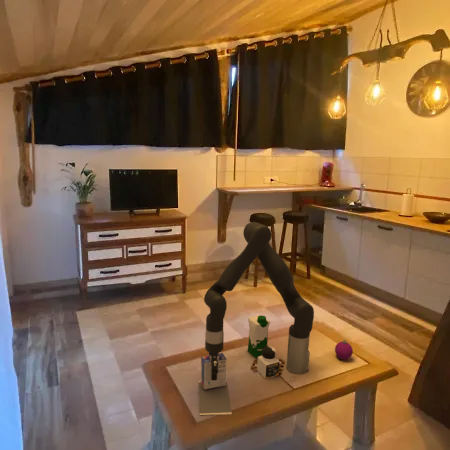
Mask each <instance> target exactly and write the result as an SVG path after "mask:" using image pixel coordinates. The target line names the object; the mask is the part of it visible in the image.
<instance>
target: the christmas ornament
mask: <svg viewBox="0 0 450 450" xmlns="http://www.w3.org/2000/svg"><path fill="white" fill-rule="evenodd" d="M334 352H335V355H336V356H337V358H338V359H340V360H348V359H350V358H351V357H352V356H353V353H354V352H353V347H352V345H351V344H350V343H348V342H347V340H346V339H344V340H342V341H340V342H338V343H336V345H335V347H334Z"/></svg>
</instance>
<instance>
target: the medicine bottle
mask: <svg viewBox="0 0 450 450" xmlns="http://www.w3.org/2000/svg"><path fill="white" fill-rule="evenodd" d="M276 356H277V349H276V348H275V347H273V346H268V345H267V346H266V347H264V348H263V349H262V356H259V357H258V358H257V366H256V367H257V369H256V371H257V372H258V374H260V375H261V376H262V377H263V378H264V379H265V380H267V379H270V378H273V377H276V376H279V373H280V360H279V359H278V358H277V357H276Z"/></svg>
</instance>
